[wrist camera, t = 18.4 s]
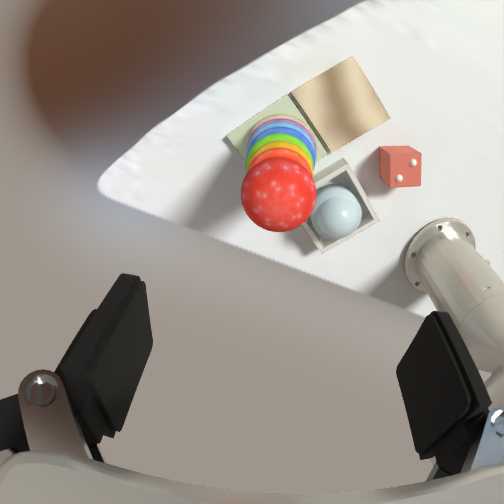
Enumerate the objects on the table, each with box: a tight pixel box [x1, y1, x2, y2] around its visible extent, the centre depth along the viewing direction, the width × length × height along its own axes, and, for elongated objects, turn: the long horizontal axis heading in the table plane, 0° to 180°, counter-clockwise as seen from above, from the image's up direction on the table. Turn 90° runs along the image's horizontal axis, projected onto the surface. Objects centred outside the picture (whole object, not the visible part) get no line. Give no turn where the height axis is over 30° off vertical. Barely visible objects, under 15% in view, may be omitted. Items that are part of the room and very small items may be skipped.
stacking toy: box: [241, 114, 317, 232], centre depth 27 cm, size 8×8×19 cm
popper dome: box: [310, 184, 362, 239], centre depth 35 cm, size 6×6×5 cm
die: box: [379, 146, 421, 188], centre depth 33 cm, size 4×4×4 cm
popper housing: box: [302, 158, 380, 254], centre depth 38 cm, size 9×9×3 cm
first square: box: [291, 57, 390, 152], centre depth 32 cm, size 8×8×1 cm
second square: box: [226, 95, 328, 162], centre depth 35 cm, size 8×8×1 cm
